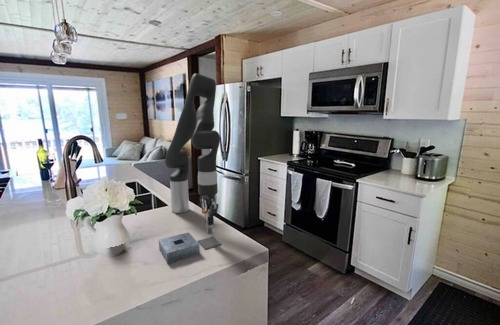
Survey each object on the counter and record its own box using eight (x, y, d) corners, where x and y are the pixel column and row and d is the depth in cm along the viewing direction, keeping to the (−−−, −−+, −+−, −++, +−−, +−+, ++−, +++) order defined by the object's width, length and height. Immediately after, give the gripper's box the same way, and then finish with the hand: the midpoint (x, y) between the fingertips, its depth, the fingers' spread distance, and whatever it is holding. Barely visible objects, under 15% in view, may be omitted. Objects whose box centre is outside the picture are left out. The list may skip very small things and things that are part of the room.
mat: (197, 241, 108) (197, 240, 108) (213, 237, 111) (213, 236, 111) (205, 249, 101) (205, 248, 101) (221, 244, 105) (221, 244, 105)
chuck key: (213, 229, 108) (210, 204, 106) (216, 231, 106) (214, 205, 104) (203, 234, 105) (200, 208, 102) (207, 236, 103) (204, 210, 101)
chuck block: (159, 249, 102) (158, 239, 101) (189, 241, 108) (188, 232, 107) (167, 263, 92) (166, 253, 91) (199, 254, 98) (199, 244, 97)
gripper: (224, 184, 98) (225, 227, 101) (209, 177, 109) (210, 216, 113) (205, 187, 94) (207, 232, 97) (192, 179, 105) (194, 219, 109)
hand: (209, 223), depth 105 cm, fingers closed on chuck key, 2 cm apart
